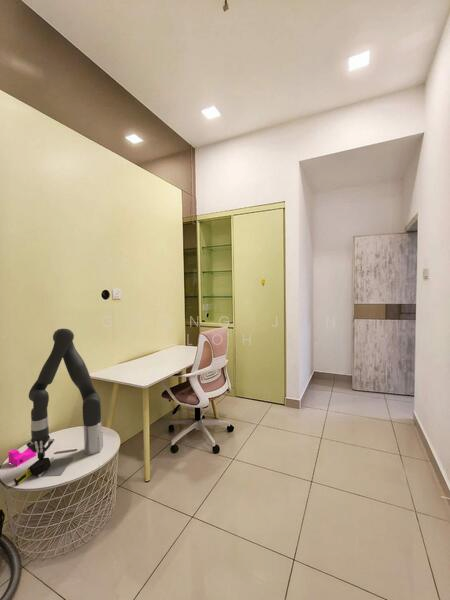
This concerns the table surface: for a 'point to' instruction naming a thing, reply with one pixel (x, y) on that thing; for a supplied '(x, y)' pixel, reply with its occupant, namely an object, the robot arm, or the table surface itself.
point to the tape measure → (34, 469)
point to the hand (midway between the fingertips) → (41, 458)
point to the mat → (56, 467)
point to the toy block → (20, 456)
